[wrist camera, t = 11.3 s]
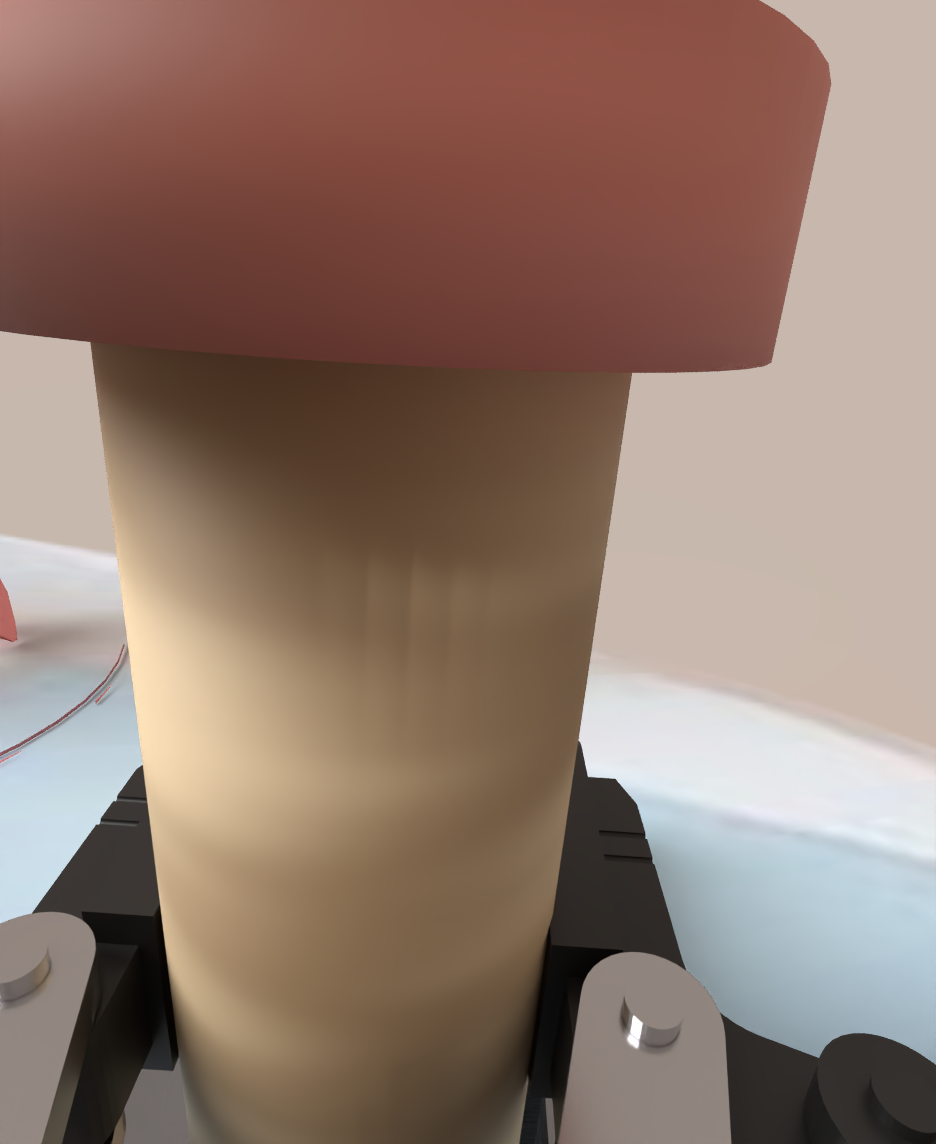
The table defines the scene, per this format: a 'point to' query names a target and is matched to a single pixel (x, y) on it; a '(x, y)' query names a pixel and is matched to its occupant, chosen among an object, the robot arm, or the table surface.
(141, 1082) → the bar
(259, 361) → the oak pin
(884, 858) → the table surface
